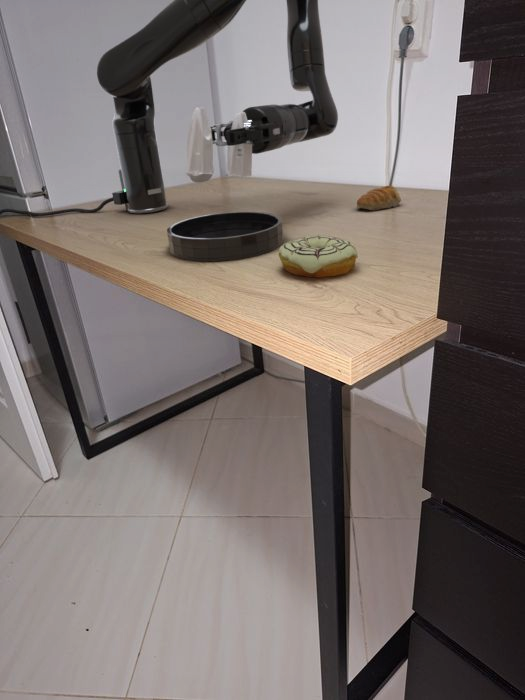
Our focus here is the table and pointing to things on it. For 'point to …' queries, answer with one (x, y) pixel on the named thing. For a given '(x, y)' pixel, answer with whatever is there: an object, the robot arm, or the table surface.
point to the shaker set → (203, 149)
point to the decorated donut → (318, 256)
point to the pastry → (379, 198)
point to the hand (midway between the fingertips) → (208, 139)
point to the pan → (225, 236)
